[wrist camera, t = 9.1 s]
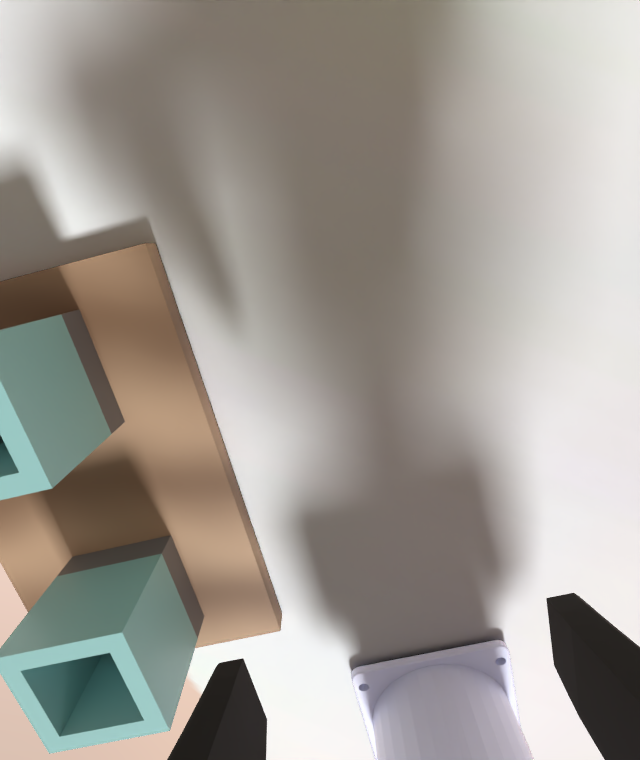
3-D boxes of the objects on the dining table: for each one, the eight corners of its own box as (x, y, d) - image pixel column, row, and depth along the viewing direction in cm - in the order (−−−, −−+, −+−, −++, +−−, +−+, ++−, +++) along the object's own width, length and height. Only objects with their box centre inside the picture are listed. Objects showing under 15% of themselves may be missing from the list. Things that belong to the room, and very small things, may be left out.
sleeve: (125, 421, 17) (52, 488, 13) (18, 447, 18) (-93, 521, 13) (79, 309, 16) (-22, 336, 11) (-36, 338, 16) (-181, 376, 12)
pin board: (282, 613, 21) (275, 681, 18) (73, 656, 22) (30, 729, 19) (155, 243, 16) (113, 242, 13) (-111, 313, 17) (-215, 330, 14)
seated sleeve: (204, 616, 20) (169, 730, 15) (111, 635, 21) (49, 753, 16) (171, 534, 19) (122, 632, 14) (72, 556, 19) (-9, 659, 14)
